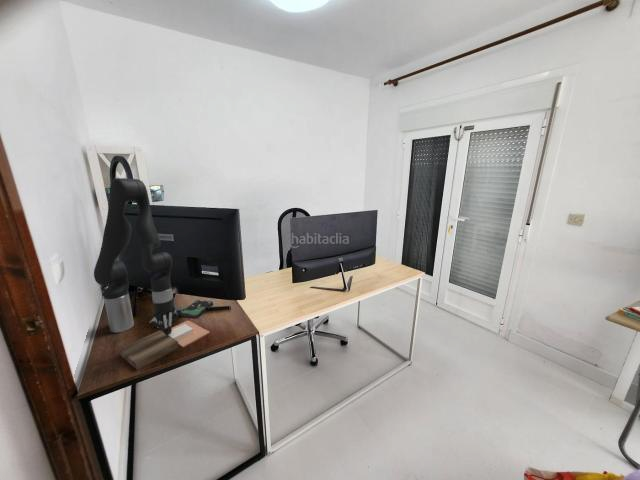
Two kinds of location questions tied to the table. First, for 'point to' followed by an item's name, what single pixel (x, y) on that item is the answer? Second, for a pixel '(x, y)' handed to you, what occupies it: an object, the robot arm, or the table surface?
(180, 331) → the tile
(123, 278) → the robot arm
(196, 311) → the disk drive
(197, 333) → the mat
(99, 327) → the table surface
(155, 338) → the deck
